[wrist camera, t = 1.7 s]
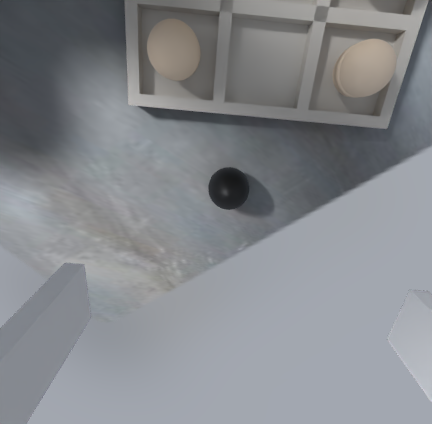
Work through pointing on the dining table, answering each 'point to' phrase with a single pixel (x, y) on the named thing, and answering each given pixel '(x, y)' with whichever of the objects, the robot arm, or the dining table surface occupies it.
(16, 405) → the robot arm
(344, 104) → the carton
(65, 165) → the dining table surface
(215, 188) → the egg
